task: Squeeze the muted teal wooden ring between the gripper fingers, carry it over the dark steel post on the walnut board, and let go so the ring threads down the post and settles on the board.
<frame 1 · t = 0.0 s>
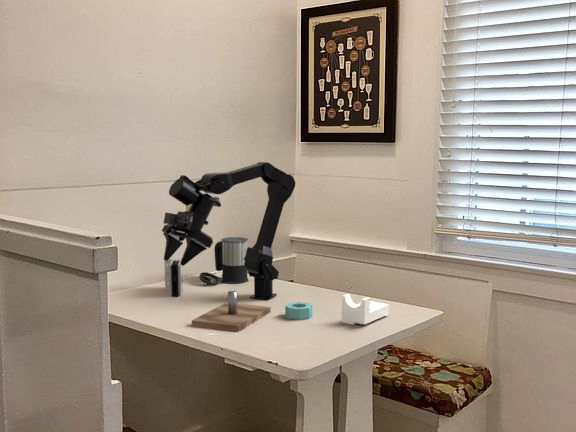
hand: (173, 262, 181), 15 cm above the table, tool tilted 35°, fingers open, 9 cm apart
walnut base board: (232, 318, 179), on the table
bracket: (365, 320, 178), on the table
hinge: (173, 292, 210), on the table
teal ring: (298, 316, 181), on the table
milk frother: (224, 283, 223), on the table
steel post: (232, 303, 178), point 4 cm above the table
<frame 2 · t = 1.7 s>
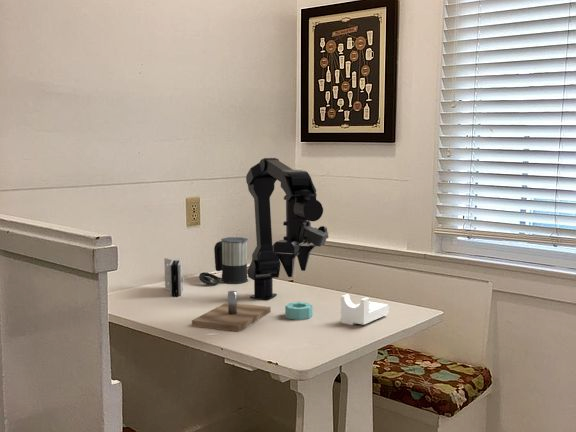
hand: (296, 273, 179), 12 cm above the table, tool pointing down, fingers open, 9 cm apart
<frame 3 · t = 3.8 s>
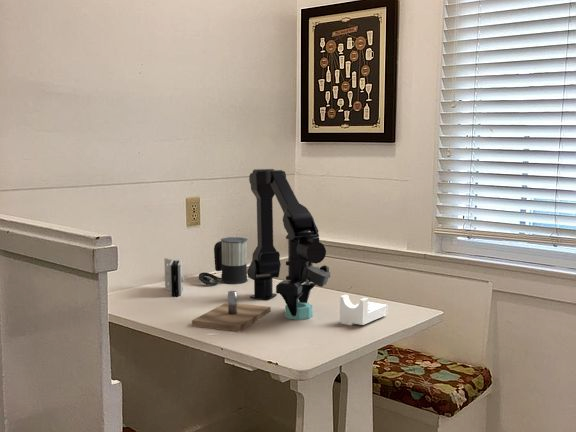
hand: (298, 312, 181), 1 cm above the table, tool pointing down, fingers closed on teal ring, 7 cm apart
teal ring: (298, 316, 181), on the table, touching gripper
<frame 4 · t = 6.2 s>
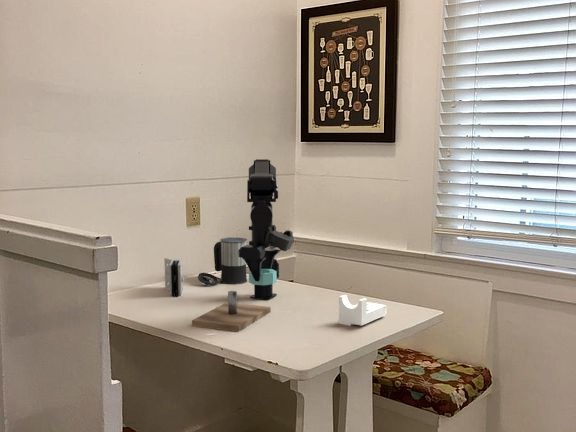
hand: (262, 278, 178), 11 cm above the table, tool pointing down, fingers closed on teal ring, 7 cm apart
teal ring: (262, 282, 178), point 10 cm above the table, touching gripper
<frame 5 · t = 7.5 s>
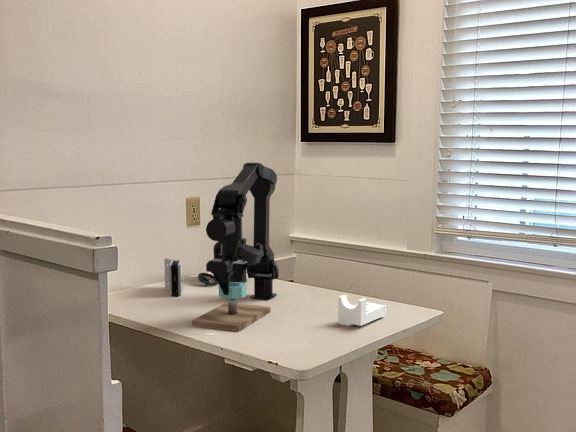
hand: (232, 291, 178), 8 cm above the table, tool pointing down, fingers closed on teal ring, 7 cm apart
teal ring: (232, 295, 178), point 6 cm above the table, touching gripper
when the fingers open (7 cm above the table, at t = 8.6 s): teal ring drops 5 cm, resting on walnut base board.
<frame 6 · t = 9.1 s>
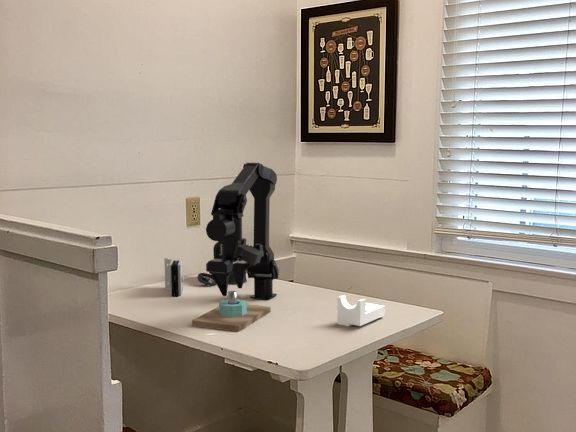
hand: (232, 291, 178), 7 cm above the table, tool pointing down, fingers open, 9 cm apart
teal ring: (232, 313, 179), point 1 cm above the table, touching walnut base board
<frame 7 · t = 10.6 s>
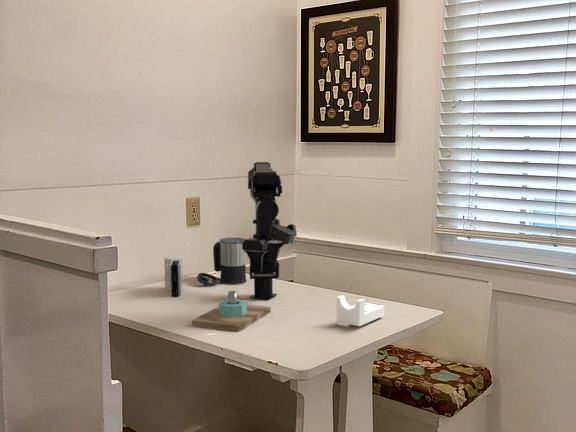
hand: (266, 270, 185), 12 cm above the table, tool pointing down, fingers open, 9 cm apart
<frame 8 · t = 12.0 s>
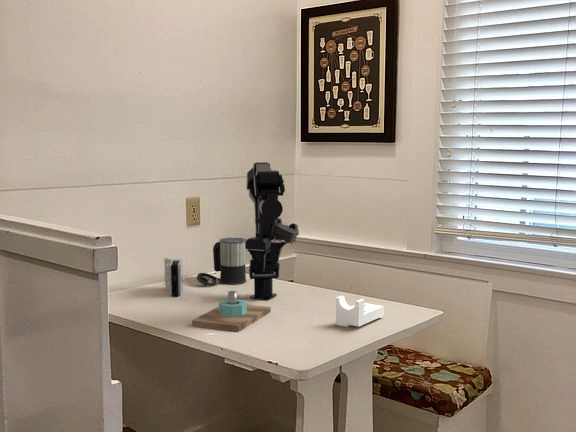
hand: (268, 269, 185), 12 cm above the table, tool pointing down, fingers open, 9 cm apart
at the end: teal ring 0.1 cm off-centre on the steel post, point 1.5 cm above the steel post's base; teal ring tilted 0°; the gripper is holding nothing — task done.
